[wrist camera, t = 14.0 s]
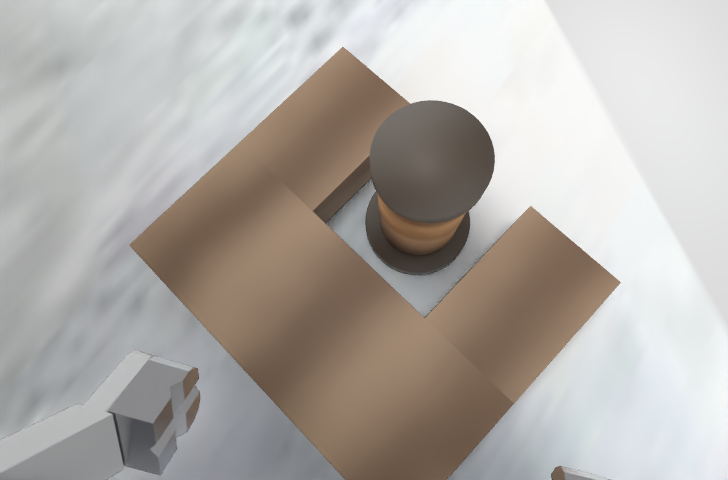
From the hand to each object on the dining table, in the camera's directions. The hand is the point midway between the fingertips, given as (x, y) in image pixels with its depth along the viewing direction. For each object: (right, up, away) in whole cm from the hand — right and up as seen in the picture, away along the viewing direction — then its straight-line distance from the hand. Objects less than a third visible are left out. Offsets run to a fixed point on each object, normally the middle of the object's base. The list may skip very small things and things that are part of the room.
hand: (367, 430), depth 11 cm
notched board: (0, +3, +14) cm, 14 cm away
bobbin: (+3, +5, +14) cm, 15 cm away
